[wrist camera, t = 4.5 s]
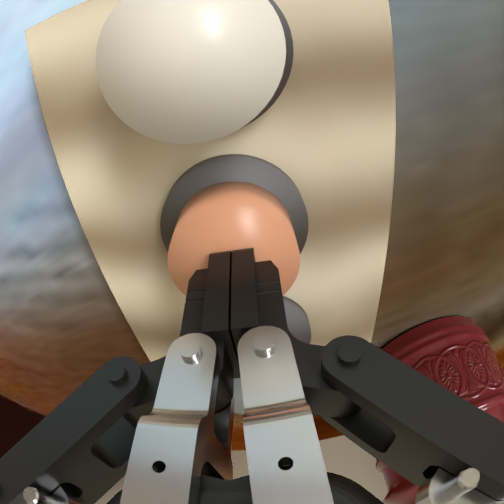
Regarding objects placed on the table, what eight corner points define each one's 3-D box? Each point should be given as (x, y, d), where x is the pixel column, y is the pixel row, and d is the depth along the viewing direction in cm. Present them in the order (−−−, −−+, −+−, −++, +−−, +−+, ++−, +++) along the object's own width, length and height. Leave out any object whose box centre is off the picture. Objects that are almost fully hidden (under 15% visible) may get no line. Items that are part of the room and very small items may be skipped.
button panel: (54, 29, 10) (14, 31, 7) (360, -27, 9) (391, -42, 7) (162, 345, 22) (156, 383, 19) (359, 321, 22) (372, 359, 19)
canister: (496, 332, 25) (563, 478, 10) (407, 404, 31) (444, 540, 16) (437, 290, 20) (537, 517, 6) (325, 387, 27) (356, 576, 12)
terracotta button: (163, 192, 12) (151, 218, 10) (287, 173, 11) (296, 197, 10) (191, 285, 14) (186, 318, 13) (295, 272, 14) (302, 305, 12)
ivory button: (111, 6, 7) (82, -1, 5) (265, -27, 7) (272, -45, 5) (139, 139, 9) (118, 160, 8) (284, 114, 9) (295, 130, 8)
